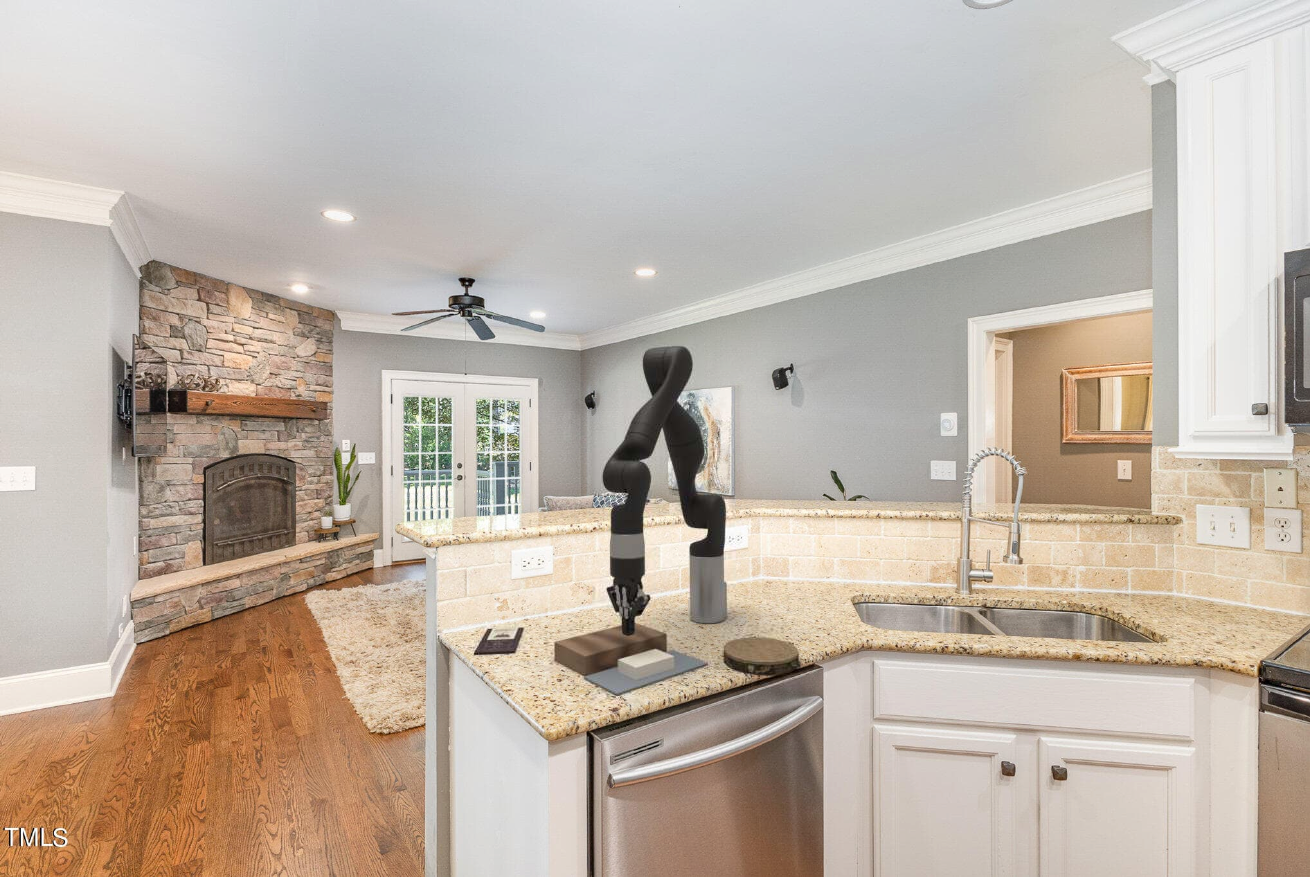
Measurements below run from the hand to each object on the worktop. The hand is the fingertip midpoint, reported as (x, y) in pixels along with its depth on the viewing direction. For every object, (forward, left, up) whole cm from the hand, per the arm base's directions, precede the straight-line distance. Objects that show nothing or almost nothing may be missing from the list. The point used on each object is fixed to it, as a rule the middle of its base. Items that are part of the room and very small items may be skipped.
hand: (628, 634), depth 130 cm
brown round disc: (-22, +18, -7) cm, 29 cm away
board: (0, -6, -6) cm, 8 cm away
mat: (0, +7, -6) cm, 9 cm away
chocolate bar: (+14, -32, -7) cm, 35 cm away
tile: (0, +7, -4) cm, 8 cm away
